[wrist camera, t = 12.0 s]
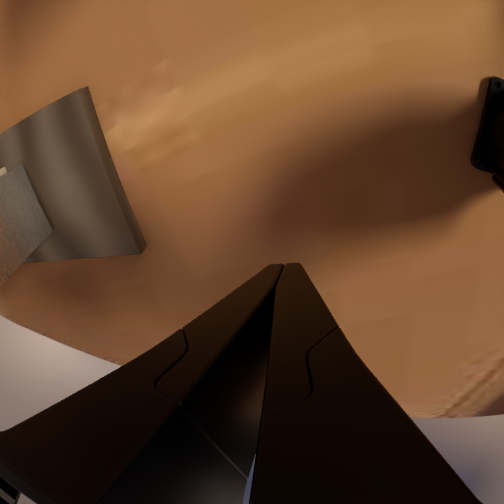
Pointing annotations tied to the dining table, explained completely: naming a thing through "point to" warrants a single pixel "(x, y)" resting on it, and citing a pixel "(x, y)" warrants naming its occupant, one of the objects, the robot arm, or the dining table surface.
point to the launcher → (72, 181)
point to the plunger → (19, 221)
